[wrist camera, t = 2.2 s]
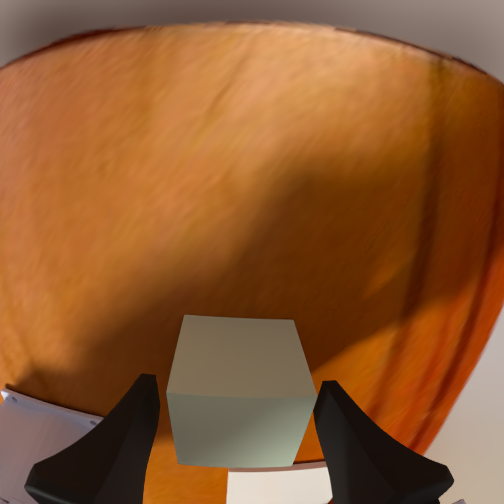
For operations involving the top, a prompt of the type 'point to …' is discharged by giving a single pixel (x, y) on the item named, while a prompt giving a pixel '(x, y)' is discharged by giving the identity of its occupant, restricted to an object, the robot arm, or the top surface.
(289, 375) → the cube
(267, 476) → the tile
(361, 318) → the top surface
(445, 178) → the top surface
